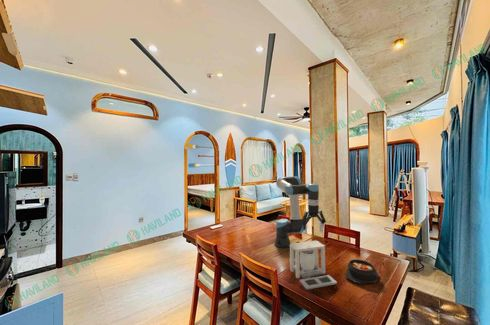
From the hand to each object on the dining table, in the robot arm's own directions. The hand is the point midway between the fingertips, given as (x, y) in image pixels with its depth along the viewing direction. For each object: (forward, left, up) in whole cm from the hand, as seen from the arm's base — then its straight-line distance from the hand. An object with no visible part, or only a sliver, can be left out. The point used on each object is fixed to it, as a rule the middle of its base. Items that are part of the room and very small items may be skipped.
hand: (313, 232), depth 146 cm
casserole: (+20, +23, -26) cm, 40 cm away
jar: (+5, -9, -26) cm, 28 cm away
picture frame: (+1, -9, -25) cm, 26 cm away
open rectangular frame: (+11, -9, -26) cm, 29 cm away
